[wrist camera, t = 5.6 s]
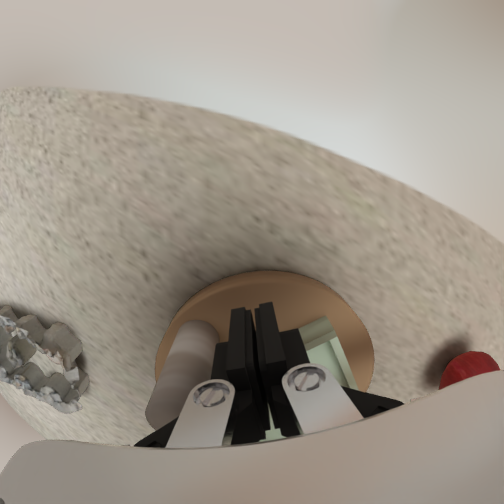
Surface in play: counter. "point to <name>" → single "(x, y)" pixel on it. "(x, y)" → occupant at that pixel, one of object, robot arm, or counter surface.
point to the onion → (467, 367)
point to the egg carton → (31, 376)
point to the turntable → (250, 296)
